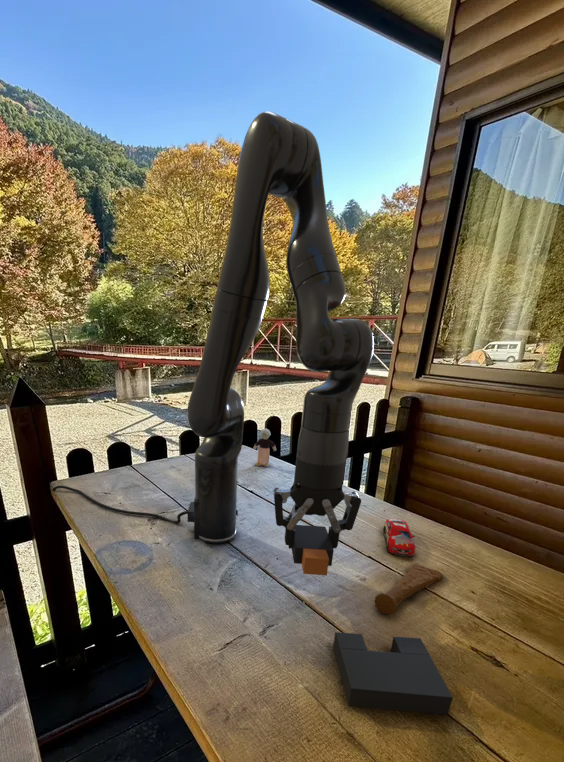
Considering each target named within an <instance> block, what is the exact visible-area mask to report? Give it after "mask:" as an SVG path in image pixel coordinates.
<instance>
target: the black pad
mask: <svg viewBox="0 0 564 762" xmlns="http://www.w3.org/2000/svg"><path fill="white" fill-rule="evenodd" d="M332 648H333V653H334V656H335V660H336V664H337V668H338V671H339V675H340V679H341V683H342V687H343V691H344V694H345V698H346V702H347V706H348V707H358V708H366V709H379V710H390V711H399V712H410V713H420V714H421V713H422V714H433V715H442V716H448V715H449V712H450V709H451V705H452V702H453V699H454V696H453V695H452V693H451V692H450V690H449V689H450V688H448V685H447V684H446V682H445V679H443V677H442V674H441V673H440V671H439V669H438V667H437V666H436V663H435V662H434V660H433V658H432V657H431V655H430V653H429V650H428V649H427V647H426V645H425V644H424V642H423V640H422V638H419V637H408V636H407V637H406V636H392V642H391V646H390V650H389V651H382V650H381V651H380V650H379V651H378V650H369V649H368V647H367V645H366V642H365V639H364V636H363V634H362V633H353V632H340V631H339V632H338V631H335V632H334V638H333V645H332Z"/></svg>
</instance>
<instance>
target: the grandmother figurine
mask: <svg viewBox="0 0 564 762" xmlns="http://www.w3.org/2000/svg"><path fill="white" fill-rule="evenodd" d="M271 435H272V434H271V431H270V429H268V428H262V429H261V431H260V437H261V438H259V439H258V440H257V441H256V442H255V443H254V445H253V448H252V449H253V450H257V448H258V450H257V459H256V460H257V461H256V463H255V466H256V467H257V466H258V467H261V466H262V467H267V468H268V467H269V466H270V465H269V462H270V455H271V454H270V451H271V450H270V447H271V448H272V450H273V452H276V451H277V447H276V443H274V441H272V440H271V439H269V438H270V436H271Z"/></svg>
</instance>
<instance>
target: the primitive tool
mask: <svg viewBox="0 0 564 762" xmlns="http://www.w3.org/2000/svg"><path fill="white" fill-rule="evenodd" d="M443 578H444V574H443V573H442V572H441V571H439V570H436V569H433V568H428V567H427V566H423V565H421V564H419V563H413V564H412V565H411V567H410V568H409V570H408V571H407V572H406V573H405V574H404V575H403V576H402V577H401V579H399V580H397V581H396V583H394V584H395V585H394V586H392V588H390V590H387V592H385V593H379V594H377V595H376V596H375V597H374V606H375V607H376V609H377V610H378V611H379V612H380V613H382V614H384V615H392V614H394V613H396V612H397V606H398V605H399V604H400V603H401V602H403V601H405V600H406V599H408V598H409V597H411V596H412V595H413V594H416V593H417V592H418V591H420V590H423V589H425V588H426V587H428V586H429V585H432V584H433V583H436V582H440V581H442V580H443Z"/></svg>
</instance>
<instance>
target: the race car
mask: <svg viewBox="0 0 564 762" xmlns="http://www.w3.org/2000/svg"><path fill="white" fill-rule="evenodd" d="M382 531H383V535H384V540H385V544H386V551H387V553H391V554H393V555H396V556H400V557H412V556H414V555H415V553H416V545H415V542H414V541H415V540H414V538H415V537H416V536H415V535H413V534H412V532H411V530H410V527H409V525H408V522H407V521H405V520H404V519H398V518H387V519H386V520H385V522H384V525H383V530H382Z"/></svg>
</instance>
